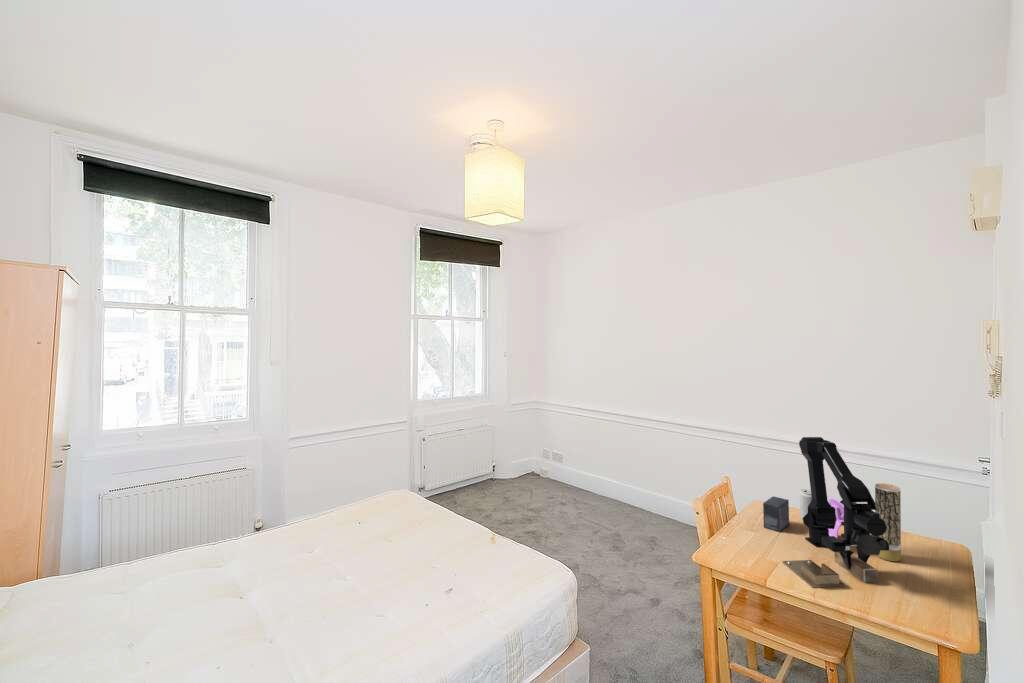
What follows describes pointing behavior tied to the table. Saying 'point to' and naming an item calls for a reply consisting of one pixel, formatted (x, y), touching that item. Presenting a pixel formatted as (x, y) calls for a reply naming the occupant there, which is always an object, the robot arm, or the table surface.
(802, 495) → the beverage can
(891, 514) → the log-patterned cylinder
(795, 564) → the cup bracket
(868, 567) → the walnut rail
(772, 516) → the small box
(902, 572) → the table surface
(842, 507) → the toy chair
